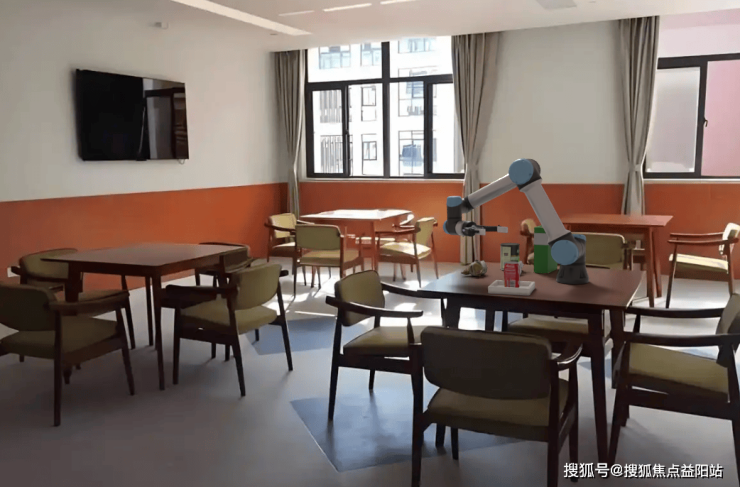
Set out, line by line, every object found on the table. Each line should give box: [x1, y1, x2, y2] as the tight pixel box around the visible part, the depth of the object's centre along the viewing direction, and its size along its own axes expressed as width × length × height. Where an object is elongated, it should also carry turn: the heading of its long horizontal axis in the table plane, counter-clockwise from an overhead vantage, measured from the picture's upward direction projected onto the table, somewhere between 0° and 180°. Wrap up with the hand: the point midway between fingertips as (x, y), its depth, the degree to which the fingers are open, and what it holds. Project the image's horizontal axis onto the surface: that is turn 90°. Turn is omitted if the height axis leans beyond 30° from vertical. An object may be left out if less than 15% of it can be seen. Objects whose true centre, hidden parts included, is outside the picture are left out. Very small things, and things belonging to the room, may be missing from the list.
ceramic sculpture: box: [460, 259, 488, 277], centre depth 341 cm, size 11×9×15 cm
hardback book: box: [533, 225, 558, 274], centre depth 351 cm, size 18×7×24 cm, turn 148°
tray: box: [487, 279, 536, 296], centre depth 299 cm, size 18×18×3 cm
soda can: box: [503, 261, 521, 288], centre depth 298 cm, size 7×7×12 cm
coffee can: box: [499, 242, 521, 271], centre depth 358 cm, size 10×10×14 cm
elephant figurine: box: [518, 260, 524, 276], centre depth 342 cm, size 8×10×7 cm
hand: (496, 231), depth 304 cm, fingers open, 13 cm apart
